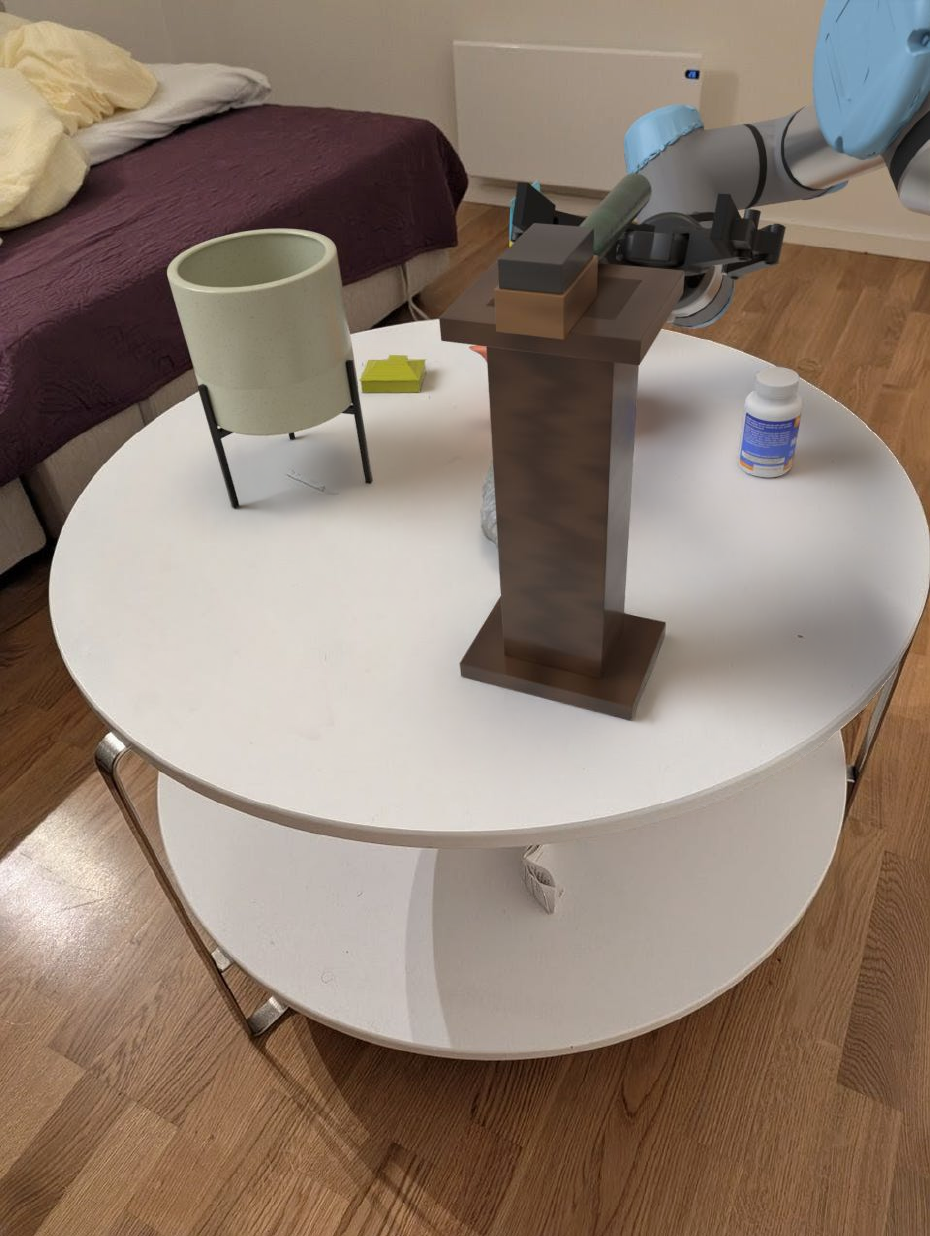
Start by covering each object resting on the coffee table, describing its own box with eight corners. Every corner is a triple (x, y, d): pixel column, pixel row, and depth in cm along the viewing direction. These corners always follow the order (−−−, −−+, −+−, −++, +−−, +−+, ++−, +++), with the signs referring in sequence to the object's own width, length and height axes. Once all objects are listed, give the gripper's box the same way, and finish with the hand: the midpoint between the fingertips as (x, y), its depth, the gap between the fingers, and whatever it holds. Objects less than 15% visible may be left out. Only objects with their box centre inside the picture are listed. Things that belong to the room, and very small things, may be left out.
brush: (606, 207, 65) (608, 146, 63) (662, 211, 64) (666, 148, 61) (495, 331, 51) (492, 260, 49) (563, 340, 50) (564, 266, 47)
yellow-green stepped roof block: (347, 399, 110) (343, 377, 108) (362, 363, 116) (359, 342, 115) (430, 398, 108) (427, 376, 106) (440, 362, 115) (438, 341, 113)
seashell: (468, 553, 81) (484, 463, 78) (477, 517, 94) (491, 439, 91) (539, 566, 81) (558, 477, 78) (539, 529, 94) (555, 451, 91)
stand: (664, 635, 75) (701, 271, 56) (631, 721, 69) (659, 342, 49) (506, 599, 80) (487, 252, 60) (460, 676, 74) (422, 315, 54)
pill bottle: (797, 477, 91) (815, 388, 84) (742, 480, 91) (756, 391, 85) (784, 448, 95) (800, 361, 89) (731, 451, 95) (743, 364, 89)
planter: (343, 525, 90) (299, 295, 75) (201, 507, 94) (133, 286, 79) (397, 445, 101) (368, 230, 86) (267, 432, 105) (217, 224, 90)
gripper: (812, 326, 77) (799, 286, 57) (531, 297, 85) (438, 254, 66) (833, 231, 75) (827, 156, 56) (544, 211, 83) (452, 141, 64)
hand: (615, 209), depth 61 cm, fingers open, 13 cm apart
